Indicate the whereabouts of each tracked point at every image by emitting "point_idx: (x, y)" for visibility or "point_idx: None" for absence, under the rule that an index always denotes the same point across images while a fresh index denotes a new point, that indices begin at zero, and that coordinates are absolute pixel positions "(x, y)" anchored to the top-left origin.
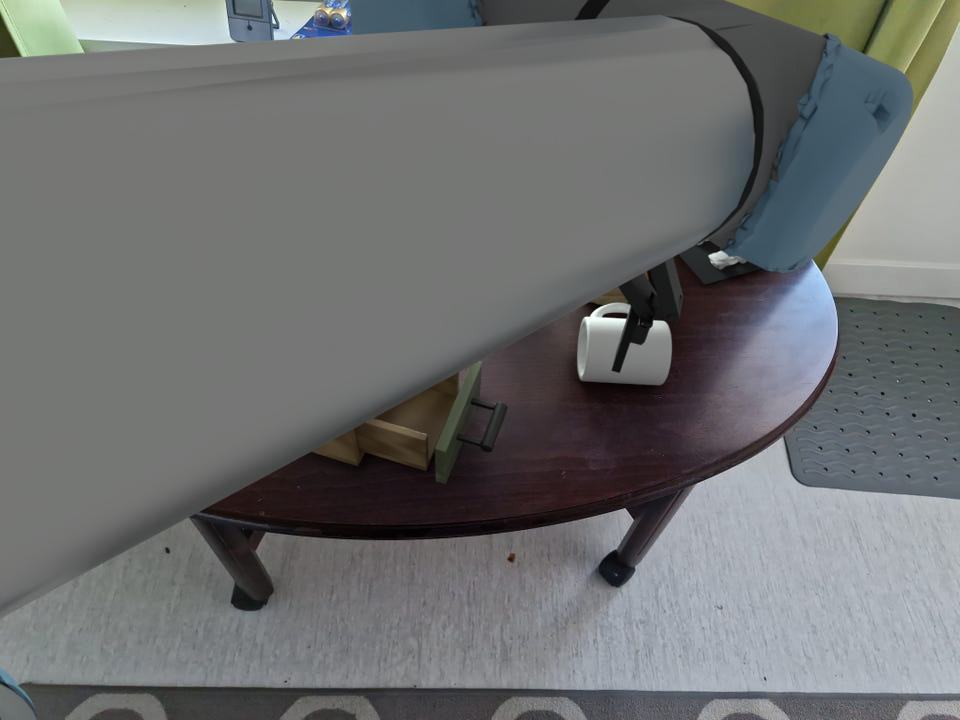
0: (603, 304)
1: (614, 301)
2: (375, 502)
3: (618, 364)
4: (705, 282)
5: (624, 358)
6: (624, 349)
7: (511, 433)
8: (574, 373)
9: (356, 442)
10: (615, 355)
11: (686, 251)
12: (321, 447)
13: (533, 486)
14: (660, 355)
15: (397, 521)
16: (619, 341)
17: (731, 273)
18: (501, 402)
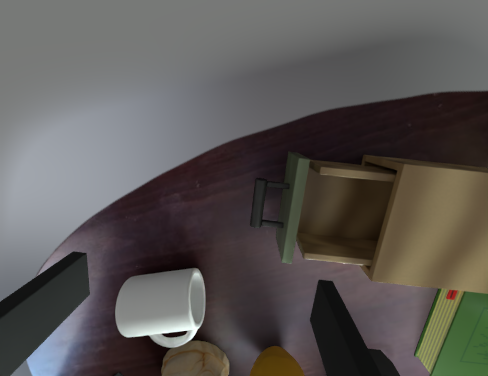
0: (193, 341)
1: (184, 345)
2: (341, 125)
3: (64, 263)
4: (119, 374)
5: (41, 273)
6: (23, 290)
7: (244, 211)
8: (205, 274)
9: (378, 163)
10: (81, 280)
11: None
12: (402, 159)
13: (218, 168)
14: (125, 302)
15: (320, 113)
16: (69, 307)
17: None
18: (256, 227)
